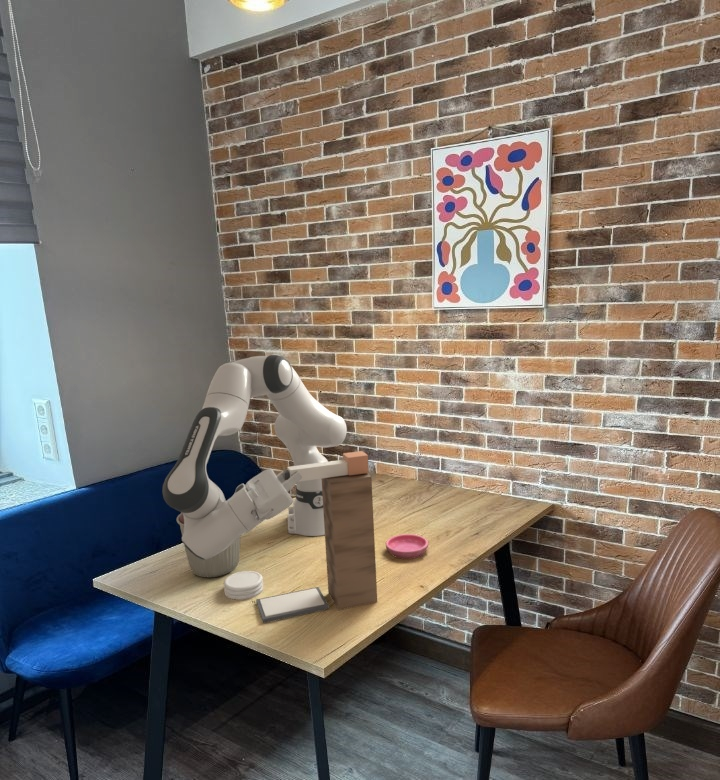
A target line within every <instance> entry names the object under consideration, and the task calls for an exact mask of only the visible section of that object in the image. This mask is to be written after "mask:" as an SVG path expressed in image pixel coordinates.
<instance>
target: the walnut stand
mask: <svg viewBox="0 0 720 780" xmlns="http://www.w3.org/2000/svg"><path fill="white" fill-rule="evenodd" d="M321 480H322V496H323V512H324V528H325V535H324V541H325V542H324V543H325V557H326V559H325V561H326V574H327V575H326V576H327V589H328V591H327V592H328V595H329V597H330V598H331V600H332V602H333V604H334V605H335V607H336V608H337V610H338V611H341V610H346V609H350V608H356V607H360V606H365V605H368V604H375V603H378V590H377V588H378V586H377V565H376V547H375V546H376V545H375V544H376V543H375V526H374V525H375V524H374V523H375V522H374V505H373V500H374V499H373V483H372V481H373V480H372V476H371V475H370V474H369V473H364V474H357V475H350V476H349V475H343V476H336V477H329V478H321Z"/></svg>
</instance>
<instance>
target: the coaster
mask: <svg viewBox="0 0 720 780" xmlns="http://www.w3.org/2000/svg"><path fill="white" fill-rule="evenodd" d="M263 580H264V578H263V575H262V574H261V573H259V572H257V571H253V570H244V571H243V570H241V571H238V572H234V573H231V574H230V575H228V576H227V577H226V578H225V579H224V581H223V586H224V587H223V590H224V594H225V596H226V597H227V598H228V597H229V598H228V599H230V598H231V599H230V600H234V599H237V600H236V601H242V600H243V601H244V600H249V599H253V598H254V597H257V596H259V595H260V594H261V593H262V592H263V589H264V581H263Z"/></svg>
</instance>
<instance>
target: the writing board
mask: <svg viewBox="0 0 720 780" xmlns="http://www.w3.org/2000/svg"><path fill="white" fill-rule="evenodd" d="M255 601H256V602H255V603H256V606H257V609H258V612H259V615H260V618H261V621H262V623H263V624H266V623H270V622H277V621H280V620H285V619H288V618H294V617H298V616H303V615H309V614H311V613H317V612H321V611H326V610H329V609H330V606H329V603H328V602H327V600H326V598H325V596H324V594H323V593H322V591H321V589H320V587H319V586H316V587H315V586H314V587H312V588H311V587H310V588H307V589H301V590H297V591H291V592H288V593H282V594H277V595H272V596H267V597H262V598H259V599H258V598H256V600H255Z"/></svg>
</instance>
